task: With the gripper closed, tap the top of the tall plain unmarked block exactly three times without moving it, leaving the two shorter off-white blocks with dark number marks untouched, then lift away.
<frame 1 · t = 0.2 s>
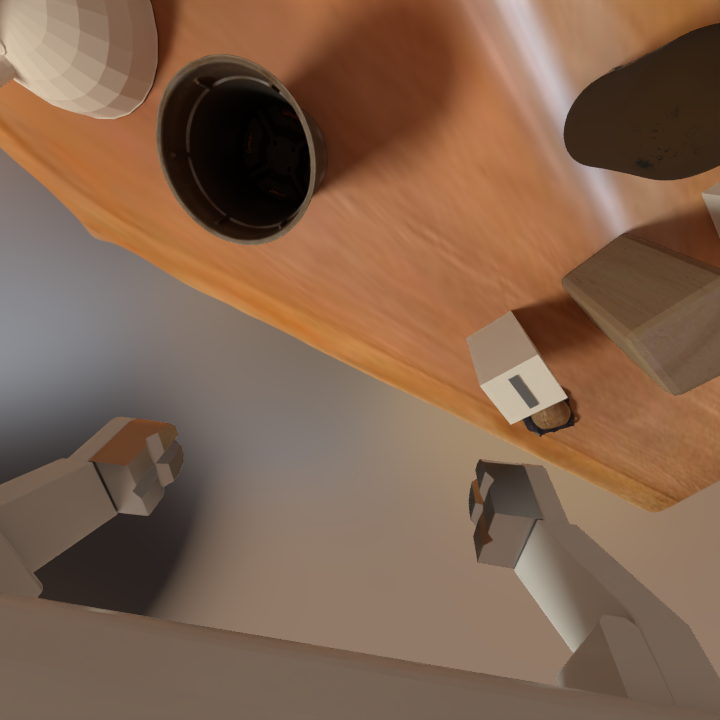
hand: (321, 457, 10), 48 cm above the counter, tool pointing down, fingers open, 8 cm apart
plant pot: (285, 158, 49), on the counter
block: (607, 279, 52), on the counter
marked block one: (500, 342, 59), on the counter
bread roll: (544, 407, 65), on the counter
olive oil: (605, 121, 43), on the counter
kettle: (81, 22, 44), on the counter
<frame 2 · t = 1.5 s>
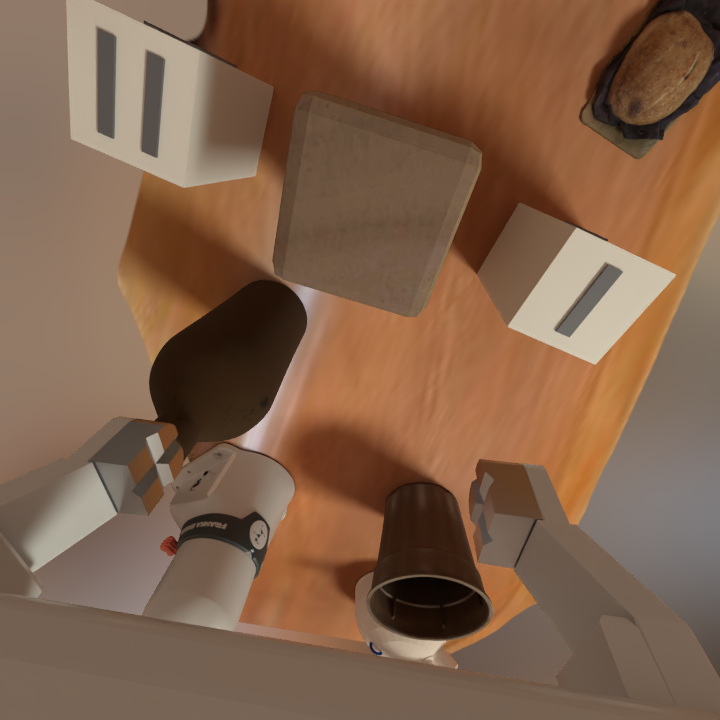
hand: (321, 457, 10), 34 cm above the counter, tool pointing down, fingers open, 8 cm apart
plant pot: (422, 505, 60), on the counter
block: (384, 188, 37), on the counter
marked block one: (529, 255, 38), on the counter
bread roll: (651, 77, 31), on the counter
olive oil: (271, 314, 45), on the counter
kettle: (403, 593, 75), on the counter
marked block two: (225, 116, 35), on the counter
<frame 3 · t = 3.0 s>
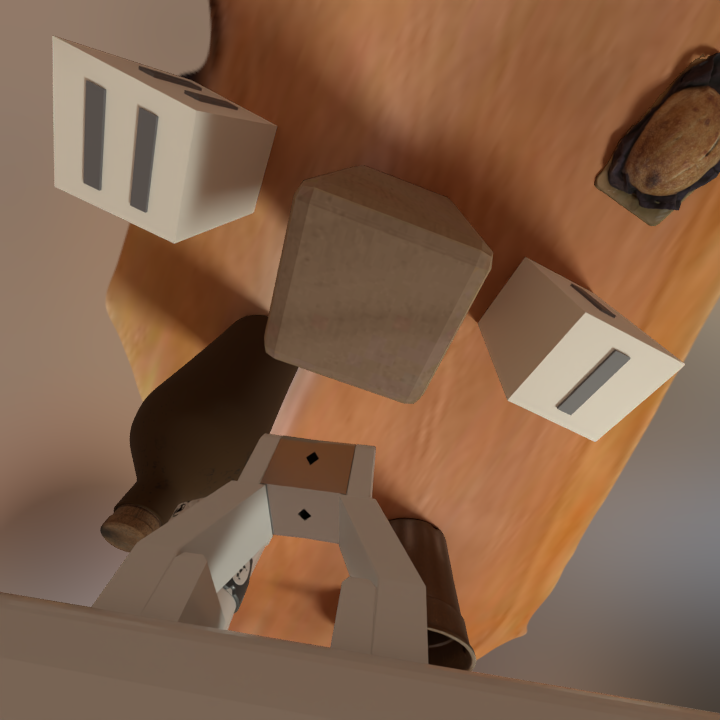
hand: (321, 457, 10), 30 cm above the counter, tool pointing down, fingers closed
plant pot: (410, 539, 59), on the counter
block: (387, 233, 35), on the counter
marked block one: (532, 308, 37), on the counter
bread roll: (670, 147, 30), on the counter
olive oil: (264, 348, 44), on the counter
marked block two: (225, 151, 33), on the counter
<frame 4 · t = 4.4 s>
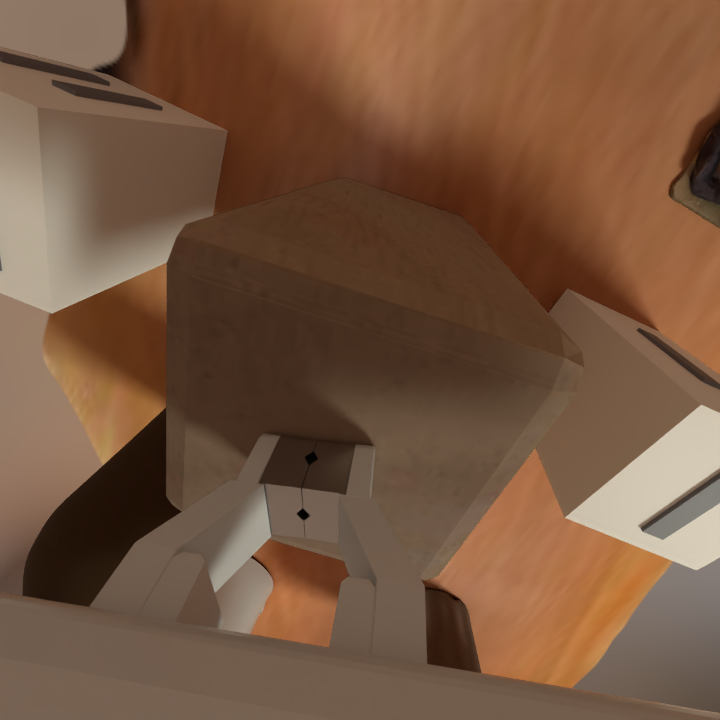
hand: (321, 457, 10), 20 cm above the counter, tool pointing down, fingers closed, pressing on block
plant pot: (425, 608, 50), on the counter
block: (382, 264, 27), on the counter, touching gripper
marked block one: (576, 352, 28), on the counter
olive oil: (237, 404, 36), on the counter
marked block two: (163, 167, 25), on the counter
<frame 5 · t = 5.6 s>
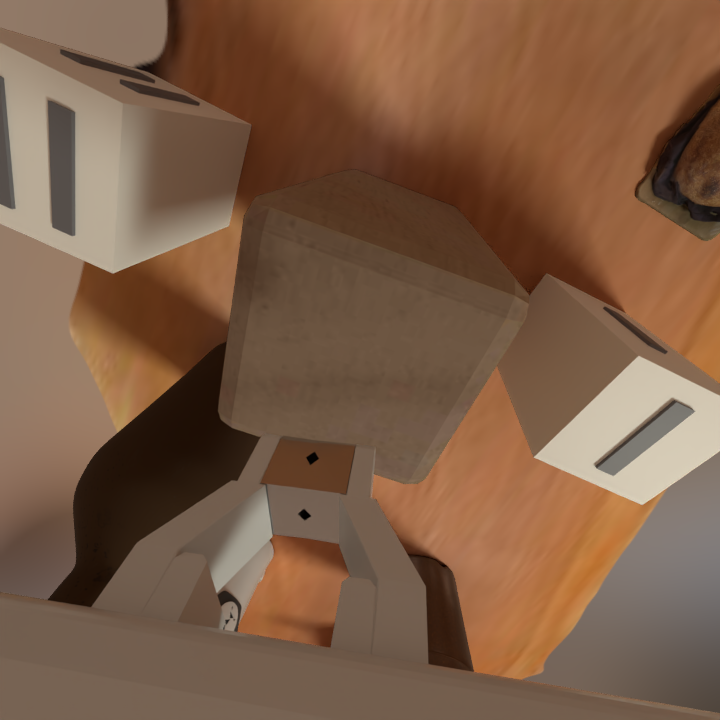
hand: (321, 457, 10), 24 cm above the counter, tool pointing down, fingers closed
plant pot: (415, 575, 54), on the counter
block: (384, 248, 30), on the counter
marked block one: (554, 331, 32), on the counter
olive oil: (247, 376, 39), on the counter
marked block two: (192, 155, 28), on the counter
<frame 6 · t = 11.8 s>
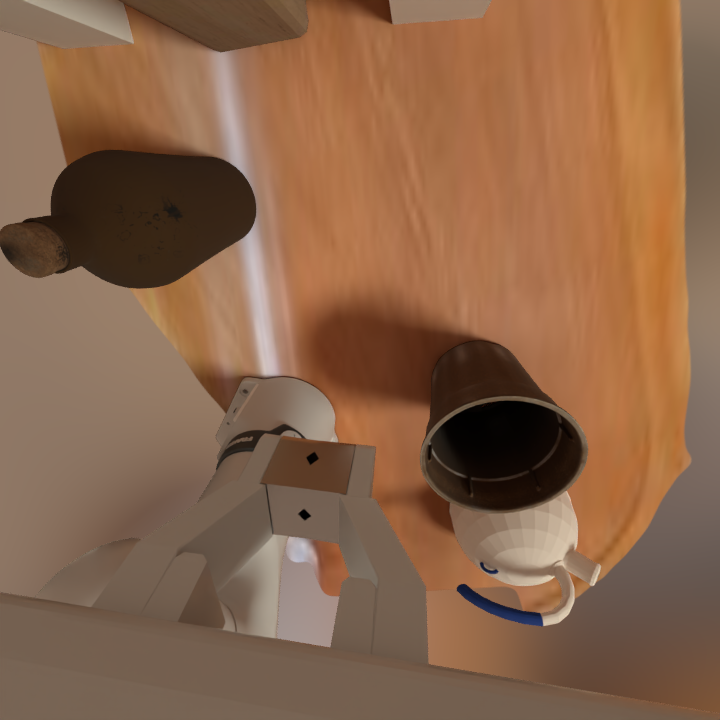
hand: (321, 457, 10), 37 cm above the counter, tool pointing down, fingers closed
plant pot: (476, 376, 50), on the counter
olive oil: (218, 202, 43), on the counter
kettle: (508, 507, 63), on the counter
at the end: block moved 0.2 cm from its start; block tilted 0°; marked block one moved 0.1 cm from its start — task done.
